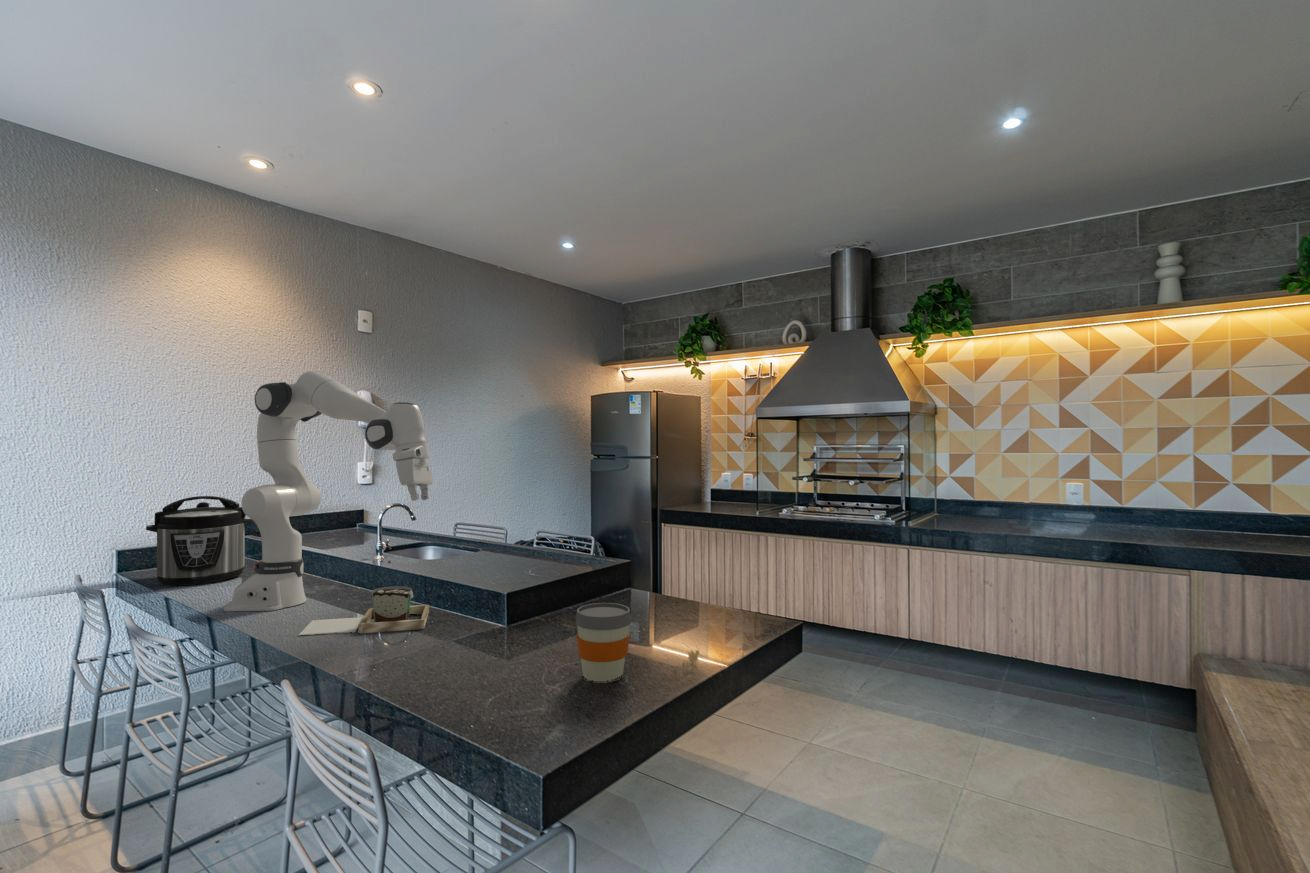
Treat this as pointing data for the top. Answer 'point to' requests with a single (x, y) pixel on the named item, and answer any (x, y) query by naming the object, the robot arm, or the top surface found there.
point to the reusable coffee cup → (603, 639)
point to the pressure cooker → (200, 542)
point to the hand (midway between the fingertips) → (420, 500)
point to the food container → (391, 603)
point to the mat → (332, 626)
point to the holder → (394, 625)
